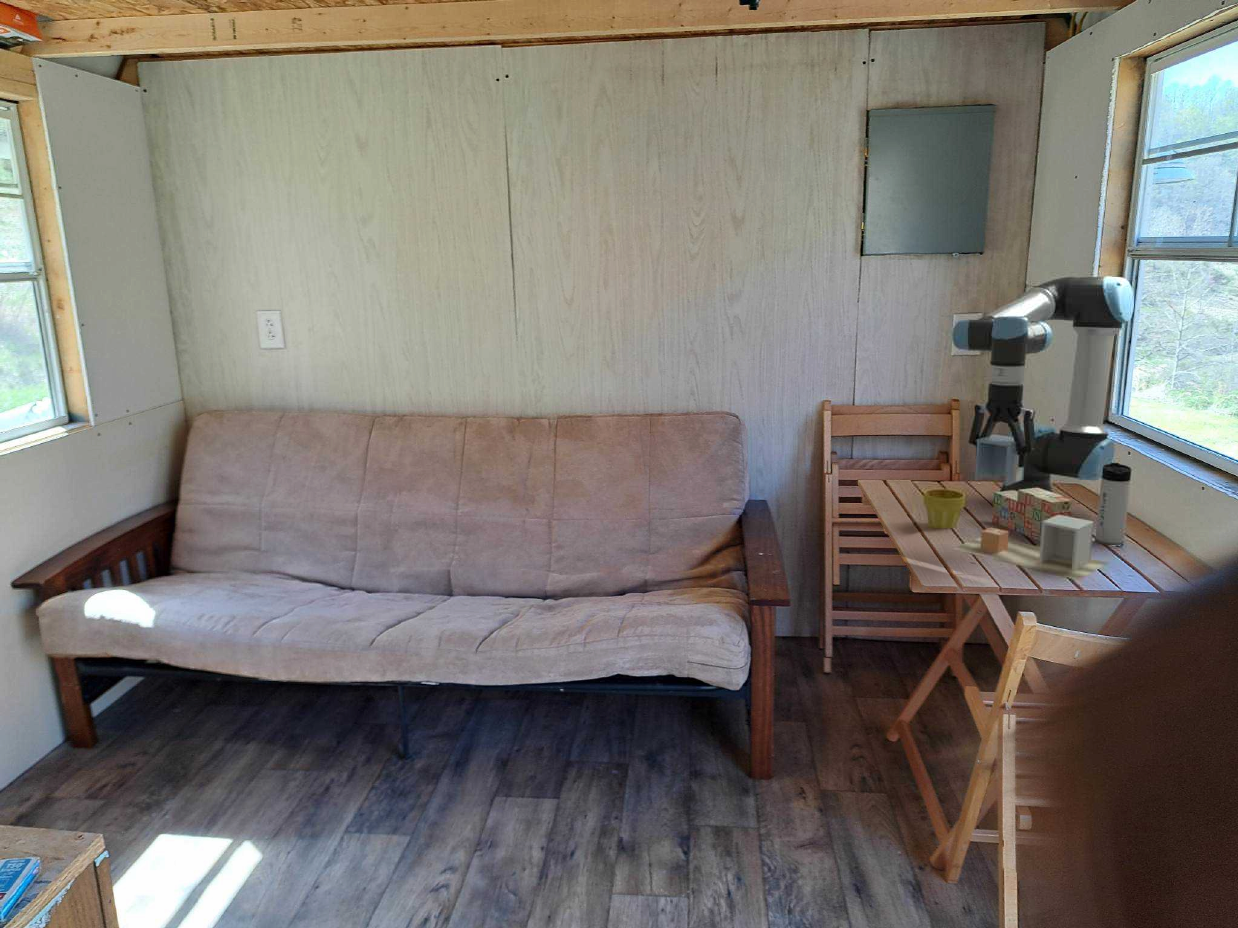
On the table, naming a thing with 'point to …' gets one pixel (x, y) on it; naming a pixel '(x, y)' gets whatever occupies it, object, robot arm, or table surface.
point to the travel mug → (1113, 504)
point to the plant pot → (943, 507)
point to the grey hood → (1066, 540)
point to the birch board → (1032, 559)
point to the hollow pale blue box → (996, 458)
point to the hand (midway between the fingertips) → (999, 476)
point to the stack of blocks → (1028, 509)
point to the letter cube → (994, 540)
